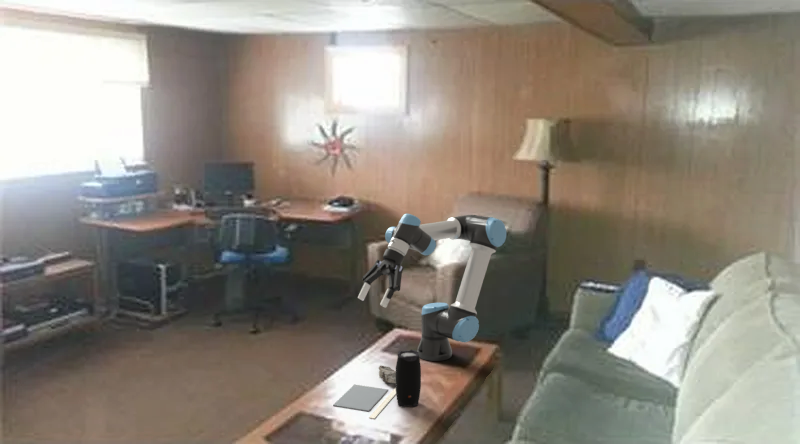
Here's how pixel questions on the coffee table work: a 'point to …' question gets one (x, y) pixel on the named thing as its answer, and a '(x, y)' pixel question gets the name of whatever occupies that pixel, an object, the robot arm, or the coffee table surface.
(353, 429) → the coffee table surface
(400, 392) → the portable speaker
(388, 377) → the mineral rock
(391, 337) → the coffee table surface
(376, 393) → the mat
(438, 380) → the coffee table surface
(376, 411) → the strip
